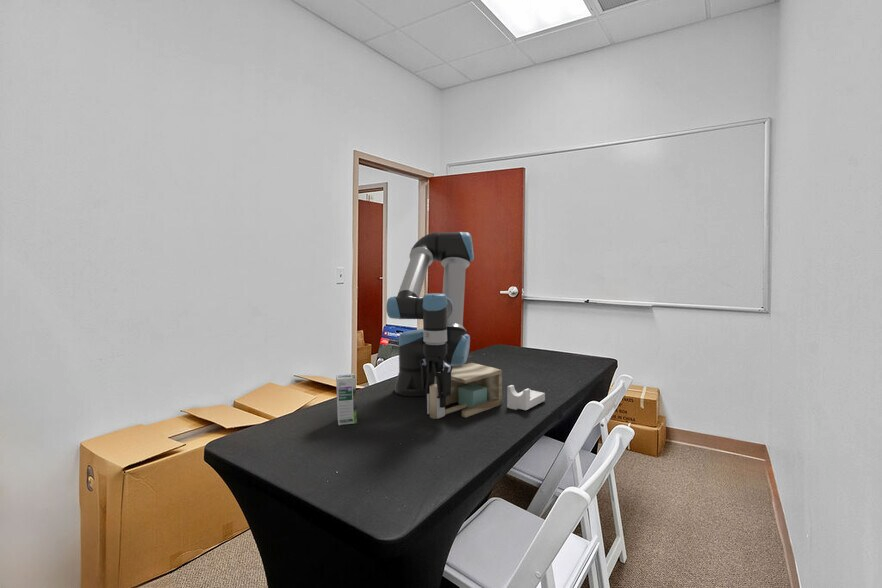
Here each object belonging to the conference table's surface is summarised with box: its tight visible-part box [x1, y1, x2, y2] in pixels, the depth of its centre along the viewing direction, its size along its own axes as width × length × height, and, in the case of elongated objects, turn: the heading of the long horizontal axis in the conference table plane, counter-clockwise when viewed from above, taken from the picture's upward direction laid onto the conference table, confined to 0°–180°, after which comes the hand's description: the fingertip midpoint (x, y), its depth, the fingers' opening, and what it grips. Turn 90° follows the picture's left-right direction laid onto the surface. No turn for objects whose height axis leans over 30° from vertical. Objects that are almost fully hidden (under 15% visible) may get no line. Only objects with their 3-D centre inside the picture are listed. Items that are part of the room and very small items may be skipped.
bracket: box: [506, 384, 546, 411], centre depth 148 cm, size 13×7×8 cm, turn 139°
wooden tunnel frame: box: [434, 362, 503, 418], centre depth 148 cm, size 14×18×12 cm
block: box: [429, 383, 487, 420], centre depth 144 cm, size 7×22×10 cm, turn 132°
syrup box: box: [335, 373, 358, 426], centre depth 134 cm, size 6×6×14 cm
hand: (435, 414), depth 138 cm, fingers closed on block, 4 cm apart
